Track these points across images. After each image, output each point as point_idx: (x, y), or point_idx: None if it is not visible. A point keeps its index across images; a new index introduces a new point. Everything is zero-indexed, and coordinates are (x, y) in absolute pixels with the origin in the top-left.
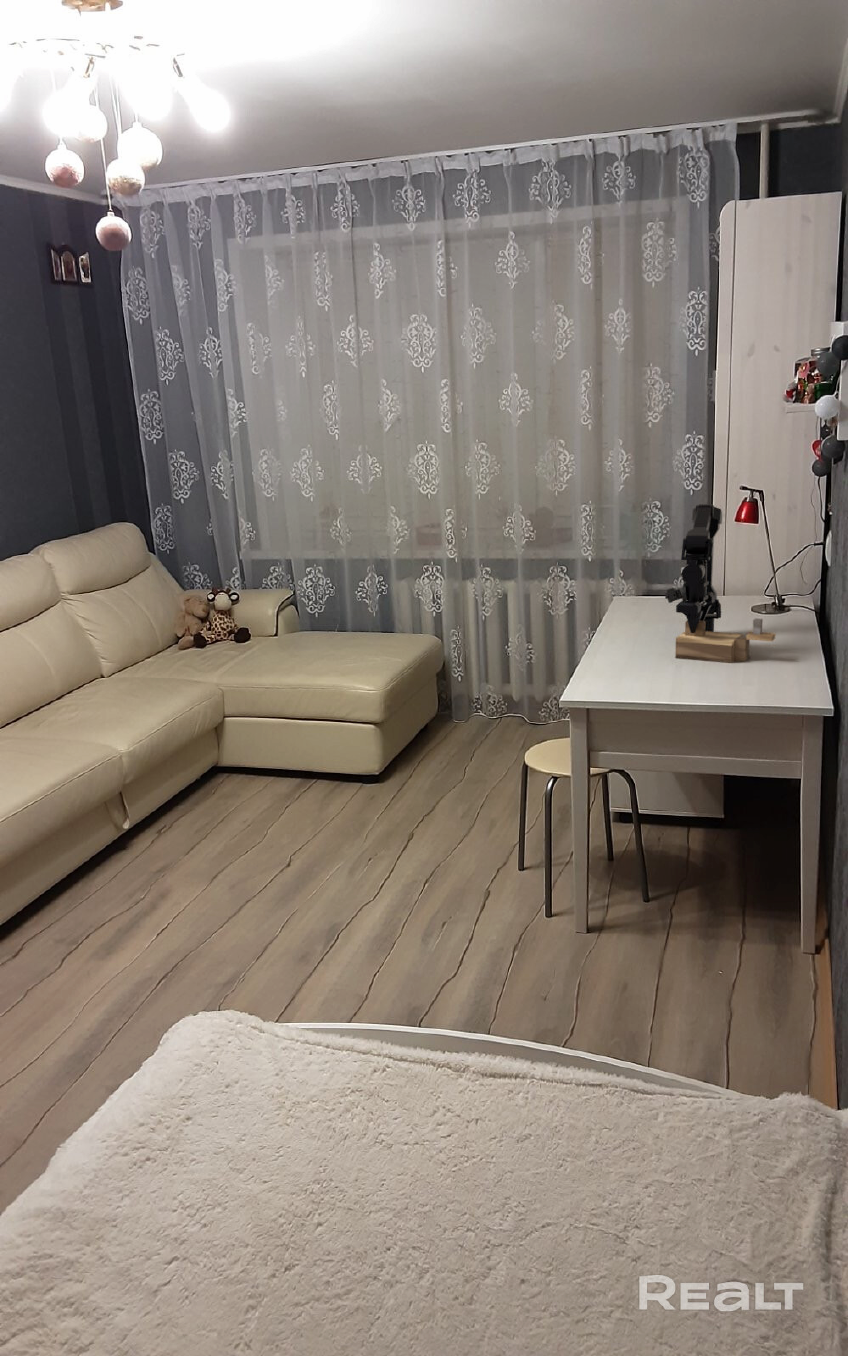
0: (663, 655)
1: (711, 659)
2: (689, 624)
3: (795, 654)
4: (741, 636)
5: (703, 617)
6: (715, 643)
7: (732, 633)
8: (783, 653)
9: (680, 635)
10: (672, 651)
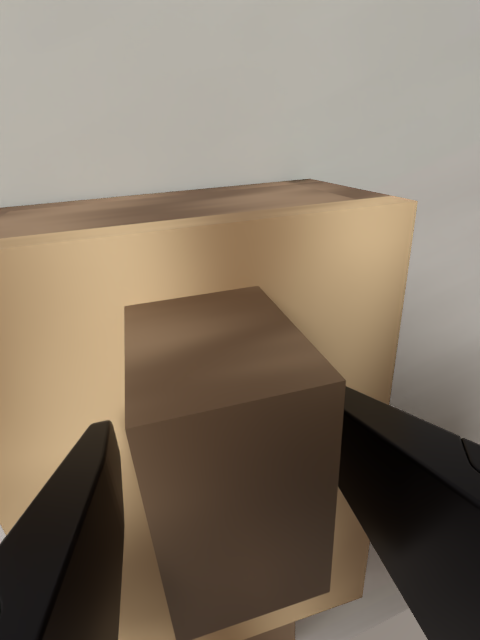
0: (36, 37)
1: None
2: (15, 543)
3: (367, 596)
4: (289, 633)
5: (402, 589)
6: None
7: (358, 561)
8: (372, 569)
9: (80, 256)
10: (227, 72)
